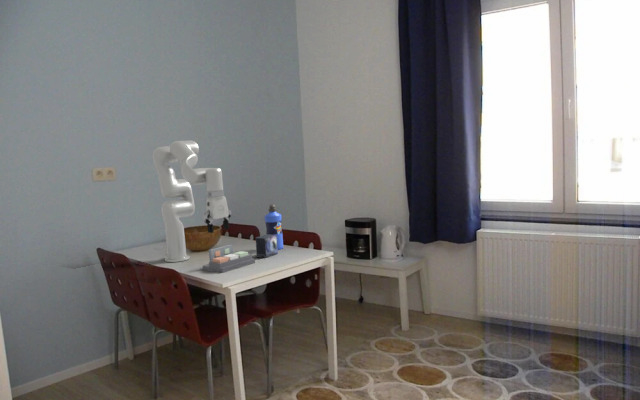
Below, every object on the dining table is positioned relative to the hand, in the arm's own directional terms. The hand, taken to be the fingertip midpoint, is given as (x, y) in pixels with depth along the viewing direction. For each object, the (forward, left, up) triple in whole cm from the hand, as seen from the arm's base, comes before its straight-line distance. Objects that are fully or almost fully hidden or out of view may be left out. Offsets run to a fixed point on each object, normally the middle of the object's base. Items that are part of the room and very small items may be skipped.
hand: (218, 230), depth 236 cm
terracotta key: (0, 0, -15) cm, 15 cm away
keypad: (-2, +6, -19) cm, 20 cm away
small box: (0, +32, -19) cm, 37 cm away
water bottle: (-8, +47, -19) cm, 51 cm away
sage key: (0, +13, -15) cm, 20 cm away
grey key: (0, +6, -15) cm, 16 cm away
